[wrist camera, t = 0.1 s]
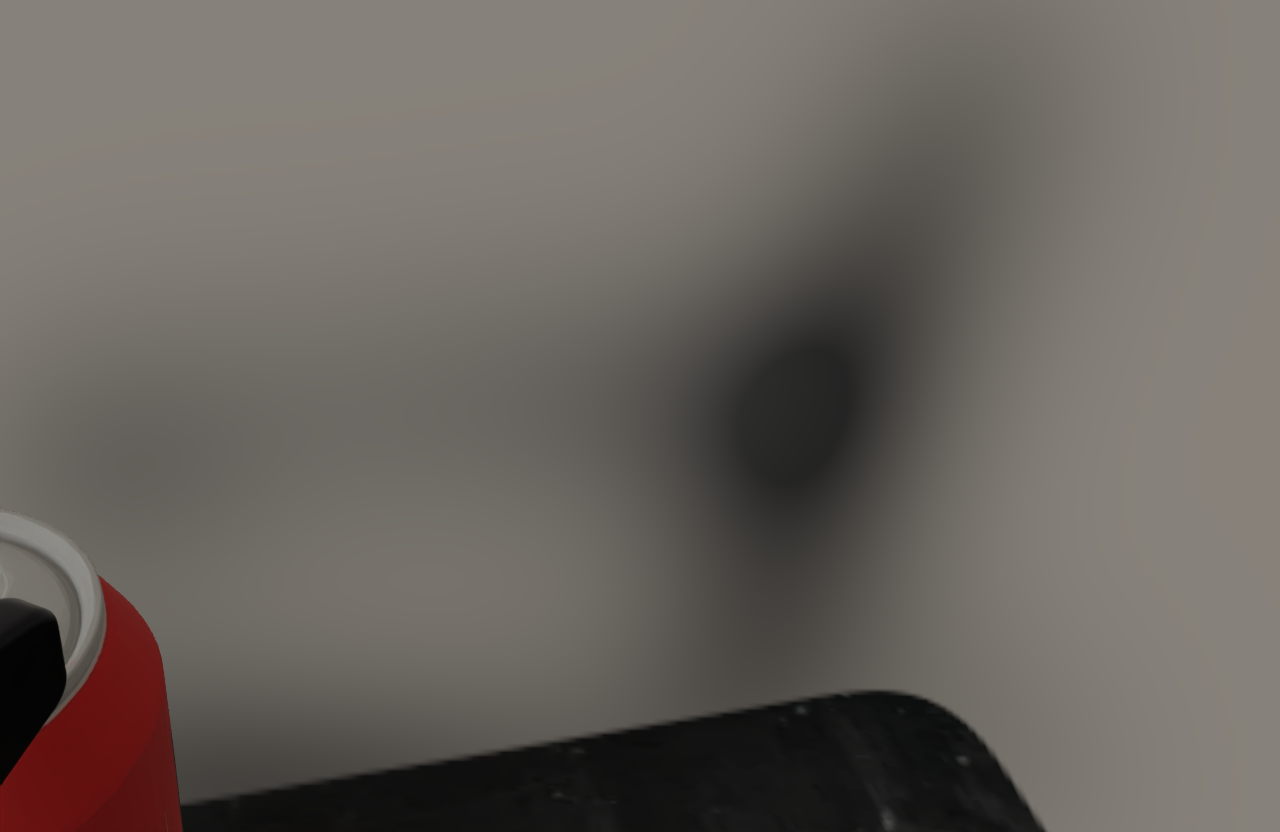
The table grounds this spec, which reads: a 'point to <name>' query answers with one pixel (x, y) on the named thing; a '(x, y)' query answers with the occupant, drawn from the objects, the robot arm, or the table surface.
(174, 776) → the beverage can
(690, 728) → the table surface
